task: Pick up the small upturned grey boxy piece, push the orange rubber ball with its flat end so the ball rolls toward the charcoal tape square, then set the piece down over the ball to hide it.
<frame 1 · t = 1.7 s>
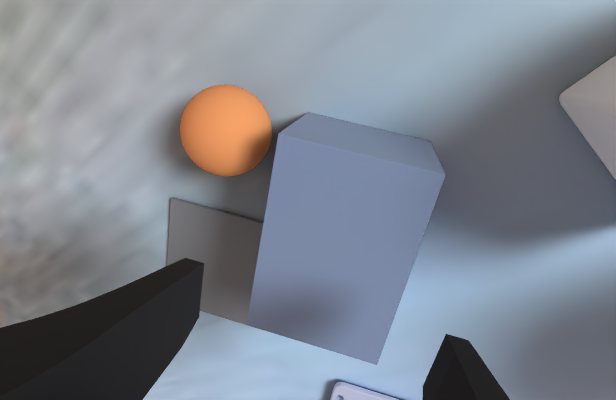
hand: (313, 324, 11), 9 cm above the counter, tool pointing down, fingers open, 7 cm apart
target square: (224, 266, 22), on the counter
ball: (227, 131, 17), on the counter
grey boxy piece: (346, 209, 19), on the counter
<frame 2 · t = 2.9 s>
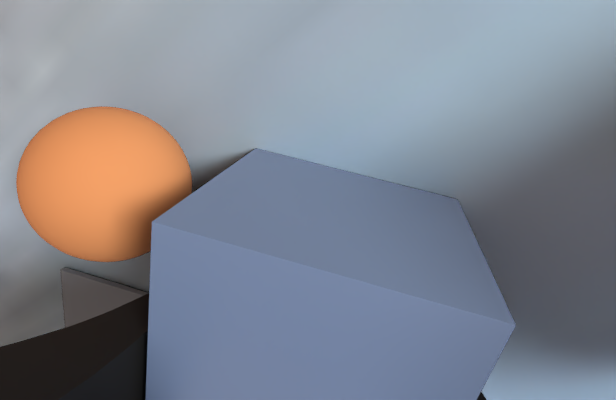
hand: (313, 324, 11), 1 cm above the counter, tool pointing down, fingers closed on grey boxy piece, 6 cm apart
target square: (148, 364, 15), on the counter
ball: (112, 184, 10), on the counter
grey boxy piece: (321, 295, 12), on the counter, touching gripper
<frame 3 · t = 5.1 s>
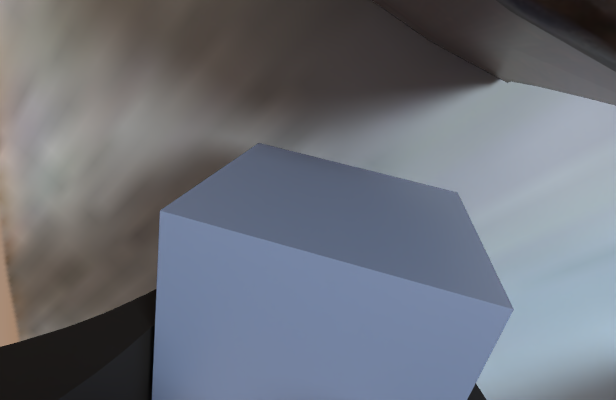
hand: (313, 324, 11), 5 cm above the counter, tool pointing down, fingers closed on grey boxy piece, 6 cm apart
grey boxy piece: (323, 288, 12), point 4 cm above the counter, touching gripper
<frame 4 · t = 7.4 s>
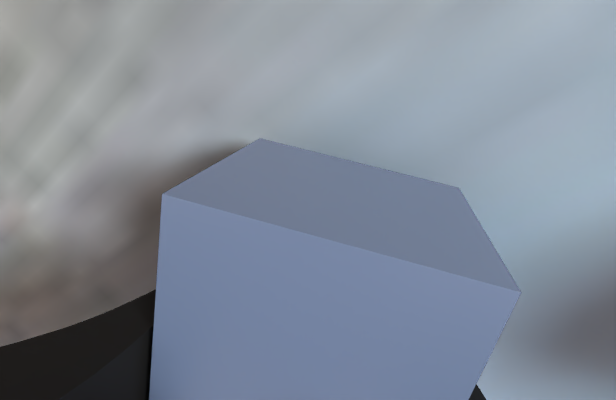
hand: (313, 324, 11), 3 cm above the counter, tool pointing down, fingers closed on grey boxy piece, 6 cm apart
grey boxy piece: (324, 287, 12), point 1 cm above the counter, touching gripper
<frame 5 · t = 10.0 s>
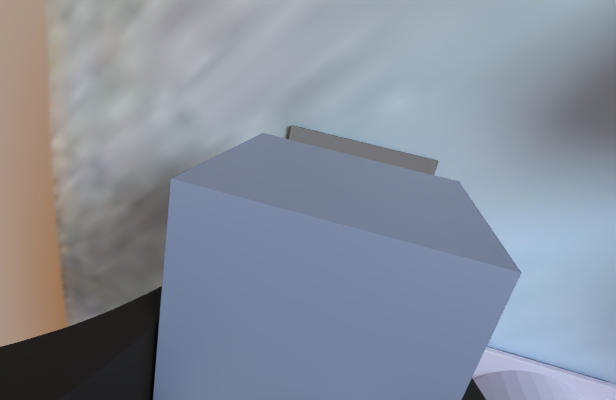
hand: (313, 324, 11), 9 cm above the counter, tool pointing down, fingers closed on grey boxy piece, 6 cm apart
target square: (346, 209, 19), on the counter
grey boxy piece: (325, 281, 12), point 7 cm above the counter, touching gripper
when the fingers open (2 cm above the counter, at t = 12.3 s): grey boxy piece stays where it is, on the counter.
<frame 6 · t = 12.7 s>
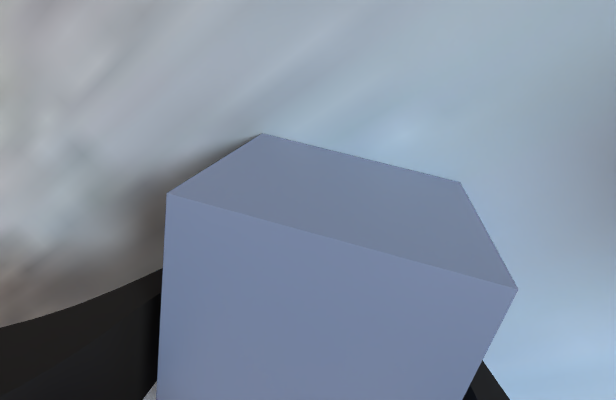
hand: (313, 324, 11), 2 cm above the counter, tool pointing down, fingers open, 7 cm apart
grey boxy piece: (326, 280, 12), on the counter
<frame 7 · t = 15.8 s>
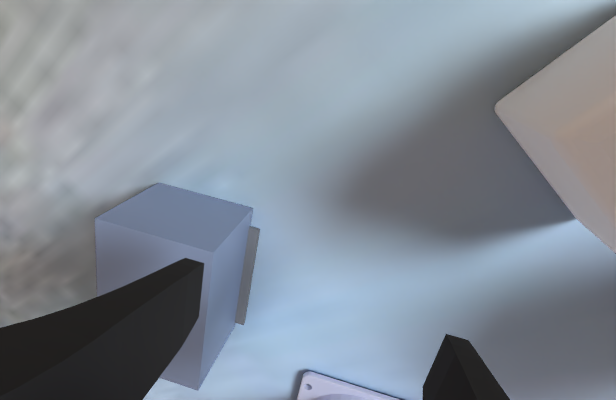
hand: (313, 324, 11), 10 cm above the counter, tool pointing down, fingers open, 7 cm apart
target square: (198, 263, 23), on the counter
medicine bottle: (610, 113, 16), on the counter
grey boxy piece: (199, 258, 23), on the counter
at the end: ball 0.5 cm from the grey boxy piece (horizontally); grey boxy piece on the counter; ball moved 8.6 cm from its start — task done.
